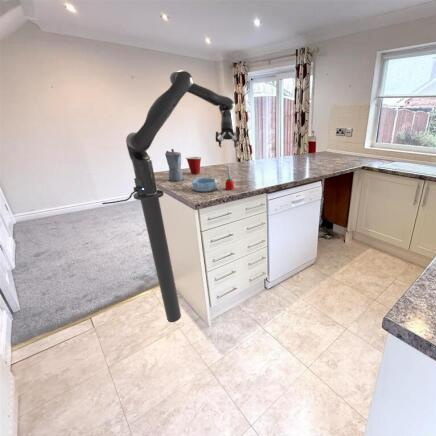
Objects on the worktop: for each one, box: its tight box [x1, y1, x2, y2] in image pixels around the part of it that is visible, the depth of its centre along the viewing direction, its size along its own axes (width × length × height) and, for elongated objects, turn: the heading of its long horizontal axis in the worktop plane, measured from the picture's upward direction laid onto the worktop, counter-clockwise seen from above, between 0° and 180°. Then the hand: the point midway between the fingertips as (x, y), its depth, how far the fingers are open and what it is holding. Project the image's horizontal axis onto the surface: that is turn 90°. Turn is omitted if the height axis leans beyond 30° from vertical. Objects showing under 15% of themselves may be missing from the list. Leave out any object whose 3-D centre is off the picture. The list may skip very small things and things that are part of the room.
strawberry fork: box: [224, 165, 235, 191], centre depth 146 cm, size 5×5×14 cm
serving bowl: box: [191, 177, 218, 193], centre depth 146 cm, size 14×14×5 cm
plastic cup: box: [185, 156, 202, 175], centre depth 179 cm, size 11×11×12 cm
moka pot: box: [164, 148, 184, 182], centre depth 160 cm, size 10×15×20 cm, turn 58°
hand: (227, 146), depth 150 cm, fingers open, 8 cm apart
